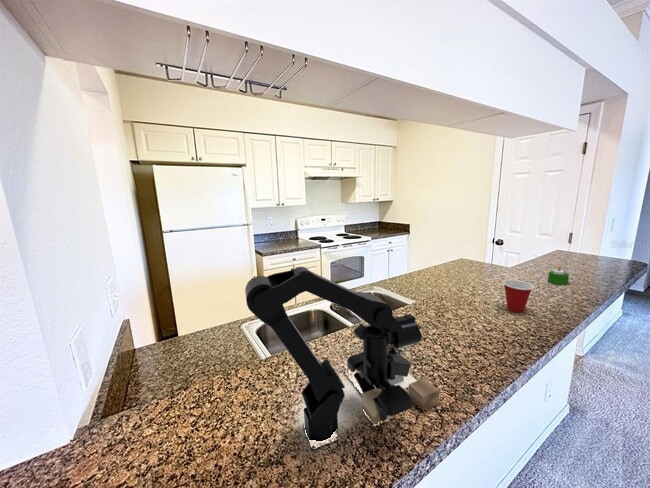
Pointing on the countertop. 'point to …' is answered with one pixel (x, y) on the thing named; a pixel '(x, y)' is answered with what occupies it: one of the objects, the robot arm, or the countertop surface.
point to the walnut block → (424, 394)
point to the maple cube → (372, 405)
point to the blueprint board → (402, 381)
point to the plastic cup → (517, 294)
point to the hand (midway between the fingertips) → (377, 411)
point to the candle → (558, 277)
